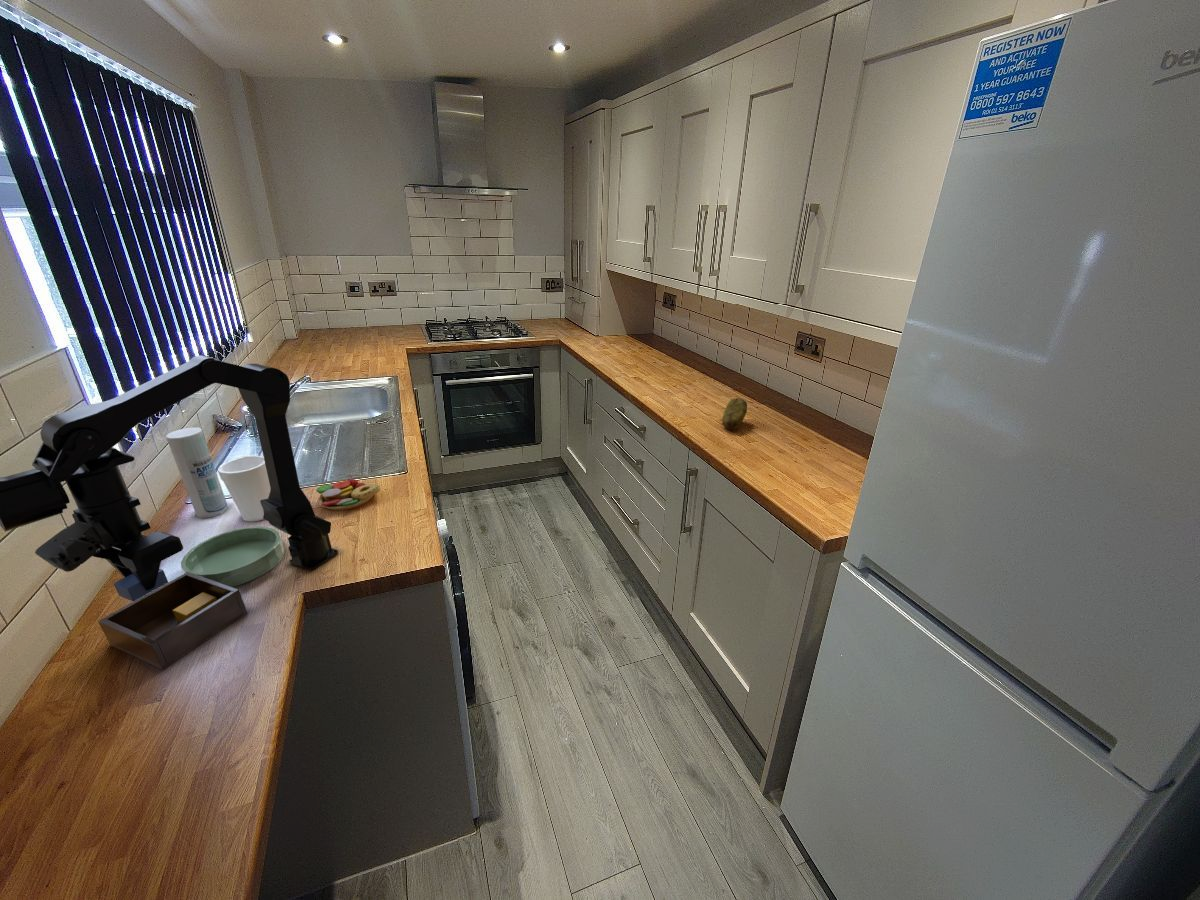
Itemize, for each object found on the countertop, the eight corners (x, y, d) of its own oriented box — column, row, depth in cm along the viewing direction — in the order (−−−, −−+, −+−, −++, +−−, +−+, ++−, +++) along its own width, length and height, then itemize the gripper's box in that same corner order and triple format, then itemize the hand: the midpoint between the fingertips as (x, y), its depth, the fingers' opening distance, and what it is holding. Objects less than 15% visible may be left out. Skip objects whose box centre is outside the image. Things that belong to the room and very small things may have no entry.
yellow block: (207, 602, 93) (202, 591, 92) (220, 607, 92) (216, 596, 91) (177, 621, 89) (172, 609, 88) (190, 626, 87) (185, 615, 86)
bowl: (248, 534, 114) (244, 520, 113) (302, 550, 108) (298, 535, 107) (167, 578, 100) (161, 563, 99) (224, 598, 95) (218, 583, 93)
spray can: (212, 503, 127) (185, 426, 119) (235, 505, 126) (209, 428, 118) (188, 516, 122) (157, 437, 113) (212, 519, 120) (182, 439, 112)
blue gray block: (154, 577, 85) (149, 564, 84) (168, 582, 84) (163, 570, 83) (119, 595, 81) (113, 583, 80) (133, 601, 79) (127, 588, 79)
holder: (197, 594, 96) (188, 571, 94) (247, 613, 91) (239, 589, 89) (110, 645, 84) (97, 621, 82) (162, 670, 80) (150, 644, 78)
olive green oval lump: (711, 427, 168) (713, 404, 165) (731, 417, 177) (733, 394, 173) (735, 433, 163) (737, 409, 160) (753, 422, 172) (756, 399, 168)
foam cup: (240, 509, 124) (223, 459, 119) (284, 501, 128) (269, 452, 123) (232, 528, 116) (213, 476, 111) (279, 519, 120) (263, 468, 114)
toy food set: (387, 498, 128) (384, 486, 127) (332, 519, 119) (329, 507, 118) (362, 481, 137) (359, 470, 135) (309, 500, 128) (305, 489, 126)
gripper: (-5, 512, 72) (44, 603, 79) (70, 540, 66) (118, 636, 72) (92, 478, 82) (129, 561, 88) (166, 500, 75) (201, 588, 81)
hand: (142, 585), depth 82 cm, fingers closed on blue gray block, 3 cm apart
